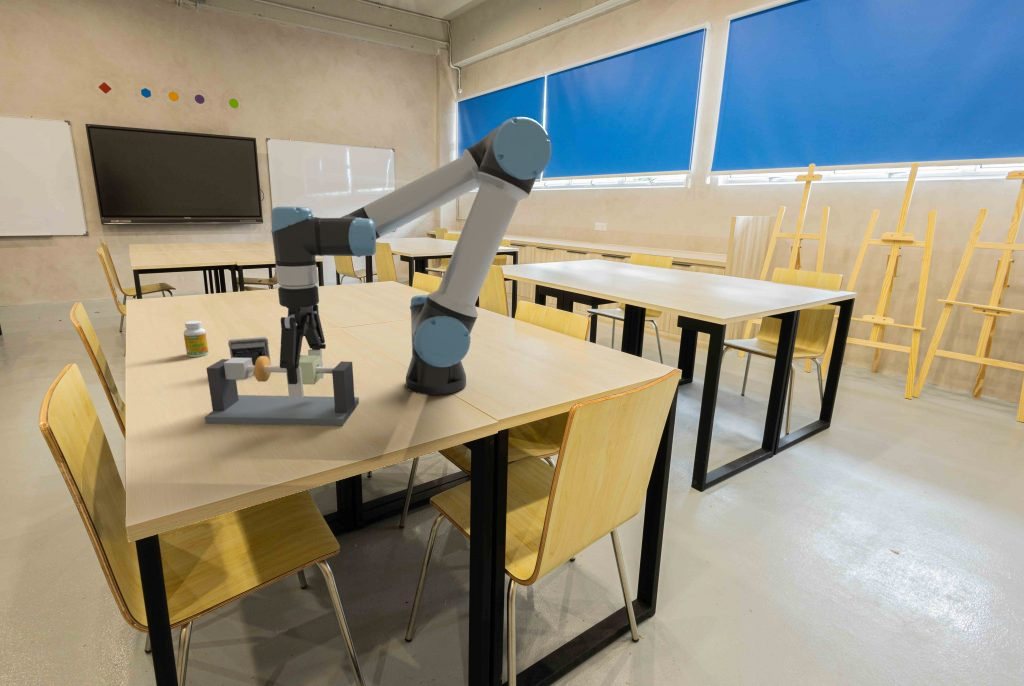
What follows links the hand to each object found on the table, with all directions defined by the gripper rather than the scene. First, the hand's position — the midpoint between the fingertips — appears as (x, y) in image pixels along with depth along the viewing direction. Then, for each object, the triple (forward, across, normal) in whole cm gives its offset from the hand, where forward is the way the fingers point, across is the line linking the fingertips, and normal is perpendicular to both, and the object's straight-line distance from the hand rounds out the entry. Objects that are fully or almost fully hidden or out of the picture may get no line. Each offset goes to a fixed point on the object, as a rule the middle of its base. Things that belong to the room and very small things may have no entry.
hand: (307, 387), depth 109 cm
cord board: (+6, 0, -5) cm, 8 cm away
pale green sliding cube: (-2, 0, 0) cm, 2 cm away
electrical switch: (+6, -27, -25) cm, 37 cm away
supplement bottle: (+6, -40, -47) cm, 62 cm away
